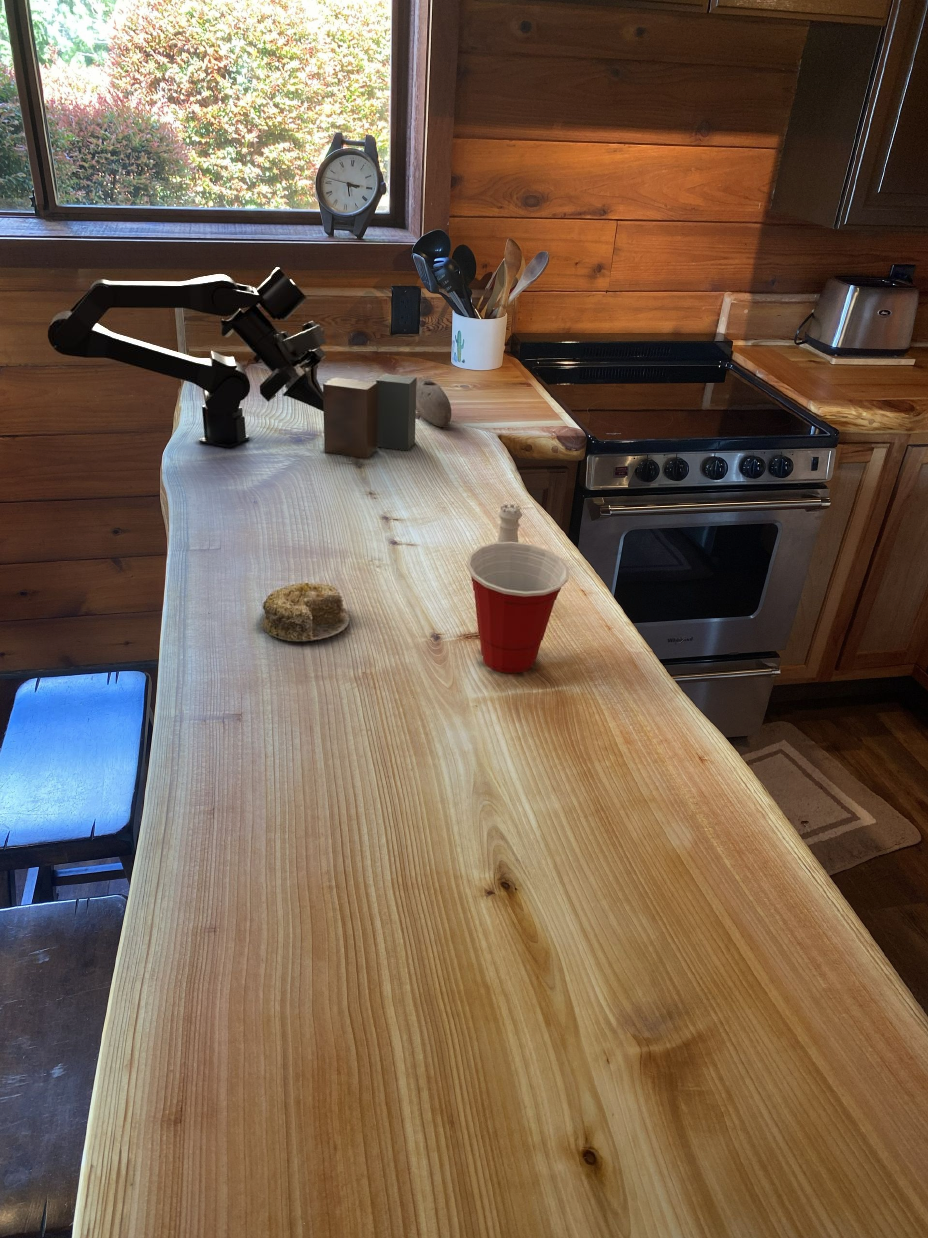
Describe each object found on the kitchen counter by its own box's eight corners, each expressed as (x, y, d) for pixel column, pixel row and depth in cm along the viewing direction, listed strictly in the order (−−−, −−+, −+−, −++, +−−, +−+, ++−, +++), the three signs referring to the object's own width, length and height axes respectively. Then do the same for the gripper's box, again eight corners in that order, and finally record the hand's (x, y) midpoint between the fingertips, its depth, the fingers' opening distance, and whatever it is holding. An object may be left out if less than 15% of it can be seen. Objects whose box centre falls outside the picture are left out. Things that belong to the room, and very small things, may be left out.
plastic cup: (490, 697, 93) (498, 593, 87) (443, 647, 101) (448, 550, 95) (577, 675, 97) (591, 575, 92) (526, 629, 106) (535, 535, 100)
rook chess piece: (527, 560, 123) (532, 505, 119) (515, 572, 119) (520, 516, 115) (497, 552, 124) (501, 498, 121) (484, 564, 121) (488, 509, 117)
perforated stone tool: (458, 431, 172) (460, 395, 169) (432, 433, 171) (434, 397, 167) (433, 410, 185) (434, 376, 181) (409, 411, 183) (409, 377, 180)
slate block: (375, 446, 162) (376, 379, 156) (383, 438, 166) (384, 373, 161) (407, 450, 161) (409, 383, 155) (415, 442, 165) (416, 376, 160)
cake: (245, 637, 102) (238, 594, 99) (291, 602, 110) (286, 561, 108) (322, 651, 98) (317, 607, 96) (364, 613, 107) (361, 572, 104)
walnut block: (324, 452, 158) (322, 383, 152) (335, 443, 162) (334, 377, 156) (367, 458, 156) (367, 389, 150) (377, 449, 161) (377, 382, 155)
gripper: (273, 317, 142) (342, 394, 145) (313, 298, 158) (374, 368, 162) (230, 363, 147) (298, 436, 150) (273, 340, 163) (333, 407, 166)
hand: (328, 410), depth 157 cm, fingers closed, pressing on walnut block
